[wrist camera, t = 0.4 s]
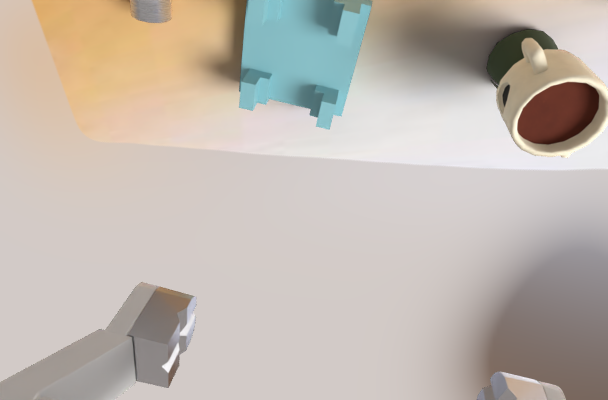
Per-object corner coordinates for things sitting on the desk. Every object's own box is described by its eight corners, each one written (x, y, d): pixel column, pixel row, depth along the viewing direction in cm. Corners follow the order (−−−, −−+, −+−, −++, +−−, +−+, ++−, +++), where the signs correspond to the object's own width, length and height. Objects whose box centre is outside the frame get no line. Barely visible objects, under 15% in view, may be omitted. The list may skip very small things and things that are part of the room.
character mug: (465, 28, 40) (491, 81, 31) (543, -12, 37) (600, 33, 27) (498, 116, 46) (529, 186, 36) (569, 87, 42) (625, 155, 33)
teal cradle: (254, -29, 40) (238, -16, 36) (372, 0, 40) (370, 16, 36) (243, 84, 48) (230, 105, 44) (342, 108, 48) (338, 131, 44)
